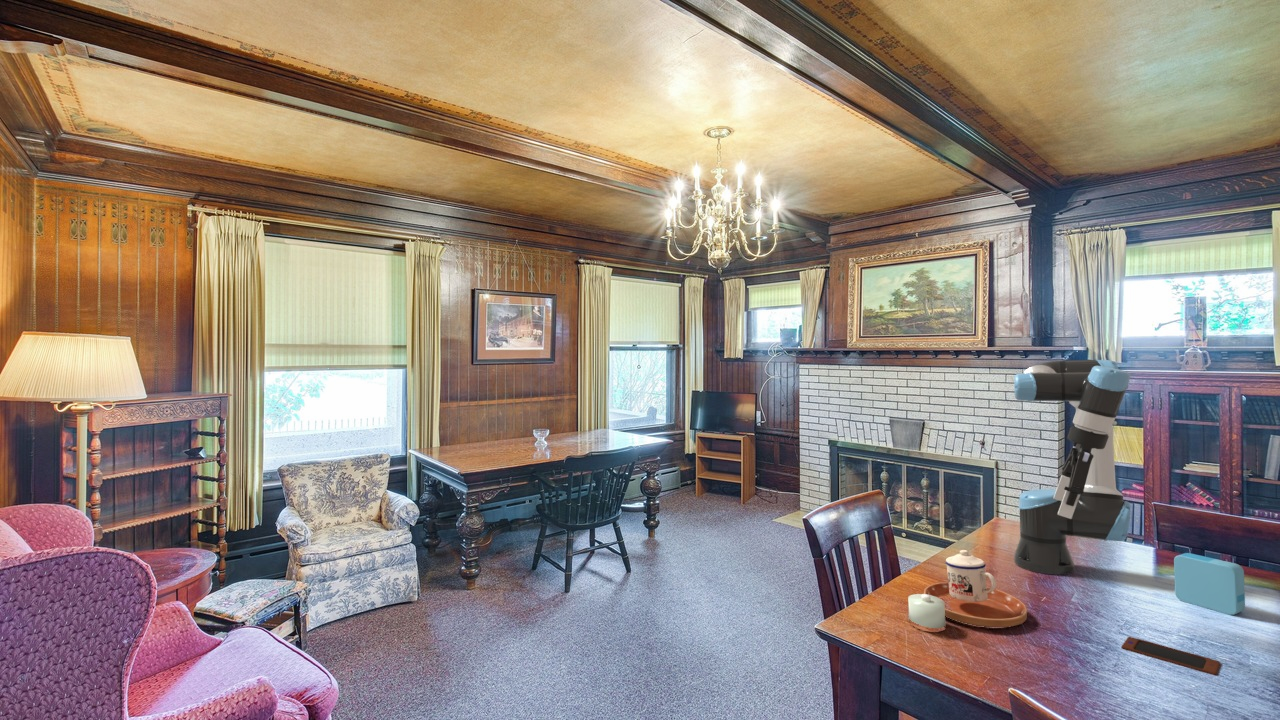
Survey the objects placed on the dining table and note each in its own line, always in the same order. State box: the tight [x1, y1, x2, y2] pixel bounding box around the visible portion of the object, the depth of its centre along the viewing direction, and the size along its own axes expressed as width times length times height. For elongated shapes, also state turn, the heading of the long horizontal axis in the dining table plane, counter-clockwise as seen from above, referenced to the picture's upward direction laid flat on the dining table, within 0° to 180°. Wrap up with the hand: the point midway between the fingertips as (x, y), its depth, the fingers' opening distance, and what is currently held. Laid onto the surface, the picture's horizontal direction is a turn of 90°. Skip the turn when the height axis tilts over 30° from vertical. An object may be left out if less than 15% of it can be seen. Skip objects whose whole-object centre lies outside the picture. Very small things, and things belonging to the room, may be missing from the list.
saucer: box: [923, 581, 1028, 628], centre depth 146 cm, size 23×23×4 cm
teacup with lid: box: [945, 549, 997, 602], centre depth 146 cm, size 12×9×12 cm
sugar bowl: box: [907, 593, 946, 628], centre depth 139 cm, size 8×8×7 cm
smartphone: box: [1120, 636, 1222, 677], centre depth 122 cm, size 7×1×15 cm
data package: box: [1173, 552, 1246, 616], centre depth 145 cm, size 12×4×12 cm, turn 24°
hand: (1061, 508), depth 143 cm, fingers open, 13 cm apart
